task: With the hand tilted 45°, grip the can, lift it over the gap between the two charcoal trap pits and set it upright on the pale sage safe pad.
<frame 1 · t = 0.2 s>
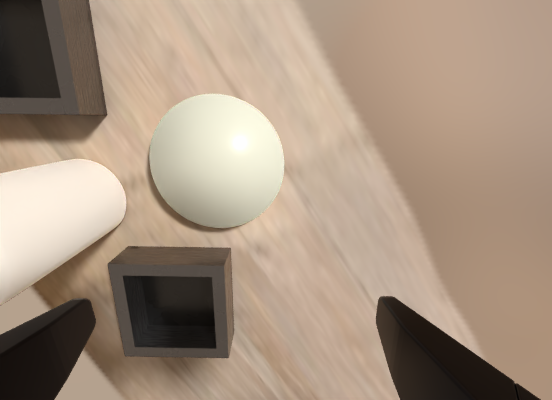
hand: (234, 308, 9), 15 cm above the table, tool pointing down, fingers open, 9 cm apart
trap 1: (33, 48, 20), on the table
safe pad: (221, 162, 22), on the table
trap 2: (183, 291, 25), on the table
can: (91, 195, 23), on the table
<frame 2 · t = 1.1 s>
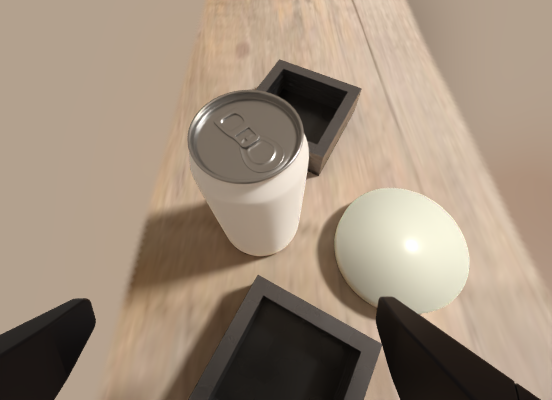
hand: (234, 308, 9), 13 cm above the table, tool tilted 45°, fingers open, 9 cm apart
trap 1: (297, 125, 29), on the table
safe pad: (394, 249, 23), on the table
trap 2: (284, 371, 19), on the table
can: (261, 221, 24), on the table
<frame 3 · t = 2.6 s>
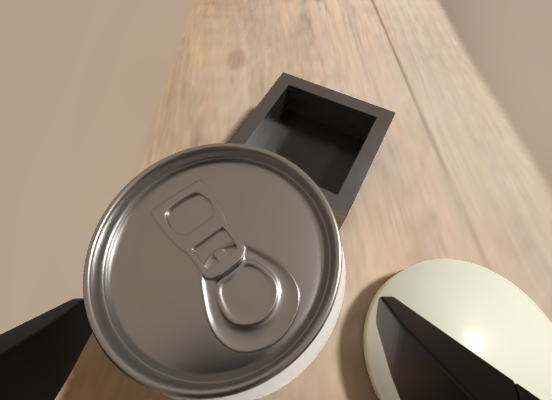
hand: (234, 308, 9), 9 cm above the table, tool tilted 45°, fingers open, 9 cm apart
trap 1: (306, 159, 21), on the table
safe pad: (453, 353, 15), on the table
can: (257, 304, 17), on the table
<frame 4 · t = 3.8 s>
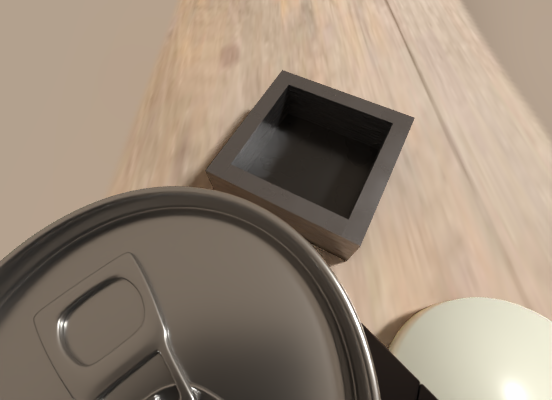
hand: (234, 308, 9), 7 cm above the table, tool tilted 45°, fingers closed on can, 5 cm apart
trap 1: (309, 170, 18), on the table
can: (251, 350, 14), on the table, touching gripper
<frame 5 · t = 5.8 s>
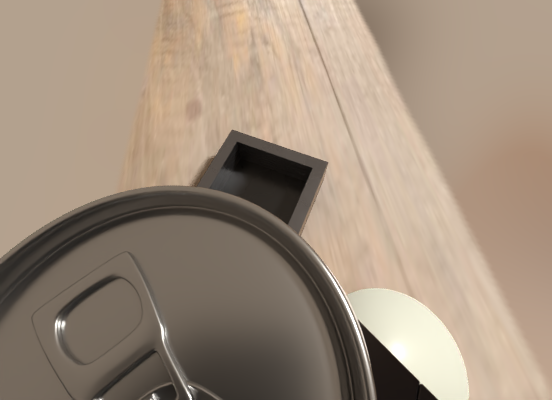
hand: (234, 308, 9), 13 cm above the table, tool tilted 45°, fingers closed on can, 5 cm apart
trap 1: (259, 203, 25), on the table
safe pad: (380, 365, 19), on the table
can: (251, 348, 14), point 6 cm above the table, touching gripper
when the fingers open (9 cm above the table, at t = 7.8 s): can stays where it is, resting on safe pad.
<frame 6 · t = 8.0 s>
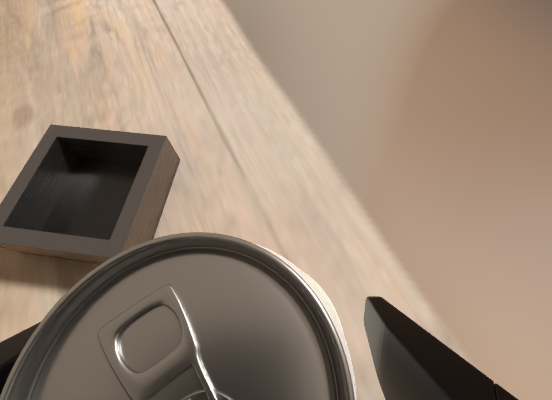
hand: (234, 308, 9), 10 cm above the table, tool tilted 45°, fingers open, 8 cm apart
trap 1: (106, 202, 21), on the table
can: (250, 352, 15), point 1 cm above the table, touching safe pad
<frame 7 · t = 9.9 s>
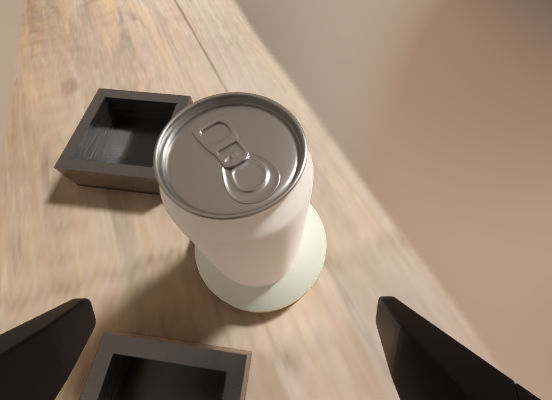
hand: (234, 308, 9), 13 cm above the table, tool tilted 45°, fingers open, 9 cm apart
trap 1: (142, 150, 27), on the table
safe pad: (261, 246, 22), on the table
can: (256, 244, 21), point 1 cm above the table, touching safe pad
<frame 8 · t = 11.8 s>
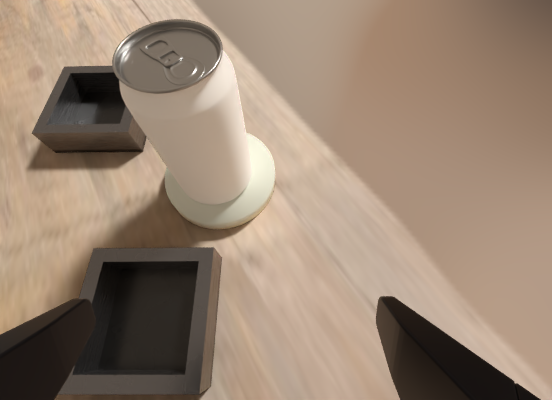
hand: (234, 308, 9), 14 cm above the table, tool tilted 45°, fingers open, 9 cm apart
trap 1: (110, 118, 30), on the table
safe pad: (223, 180, 26), on the table
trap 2: (158, 316, 21), on the table
can: (217, 175, 25), point 1 cm above the table, touching safe pad
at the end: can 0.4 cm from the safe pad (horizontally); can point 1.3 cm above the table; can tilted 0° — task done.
